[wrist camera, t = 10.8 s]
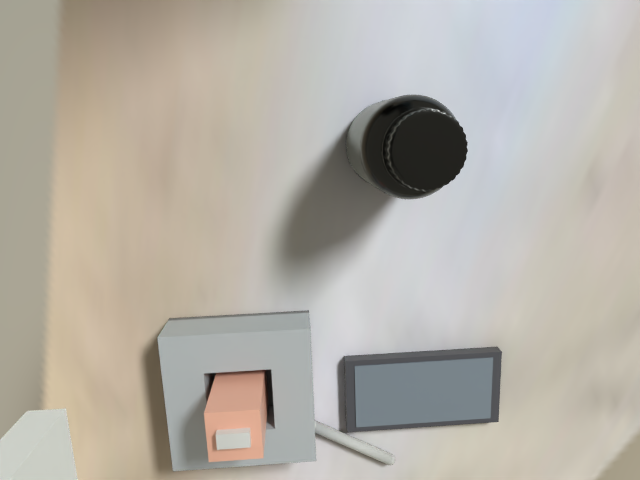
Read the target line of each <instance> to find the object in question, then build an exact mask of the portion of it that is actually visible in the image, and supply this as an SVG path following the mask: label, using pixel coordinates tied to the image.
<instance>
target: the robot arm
mask: <svg viewBox="0 0 640 480" xmlns="http://www.w3.org/2000/svg"><path fill="white" fill-rule="evenodd" d="M0 480H78V478H77V472H76V466H75V460H74V454H73V448H72V442H71V436H70V430H69V424H68V418H67V412H66V409H51V410H35V411H27V412H26V413H25V414H24V415H23V416H22V417H21V418H20V419H19V420H18V421H17V422H16V423H15V424H14V426H13V427H12V428H11V429H10V430H9V431H8V432H7V433H6V434H5V435H4V436H3V437H2V439H1V440H0Z"/></svg>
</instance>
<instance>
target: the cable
mask: <svg viewBox="0 0 640 480" xmlns="http://www.w3.org/2000/svg"><path fill="white" fill-rule="evenodd" d="M315 433H316V434H318V435H321V436H323V437H325V438H328V439H330V440H332V441H335V442H337V443H339V444H341V445H344V446H346V447H348V448H351V449H353V450H355V451H357V452H360V453H362V454H364V455H367V456H369V457H371V458H374V459H376V460H378V461H380V462H383V463H385V464H387V465H393V464H394V462H395V457H394V456H393V455H392V454H390V453H388V452H386V451H384V450H381V449H379V448H377V447H374V446H372V445H370V444H368V443H365V442H363V441H361V440H359V439H356V438H354V437H352V436H349V435H347V434H345V433H343V432H340V431H338V430H336V429H334V428H331V427H329V426H327V425H324V424H322V423H320V422H318V421H315Z"/></svg>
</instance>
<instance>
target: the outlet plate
mask: <svg viewBox="0 0 640 480" xmlns="http://www.w3.org/2000/svg"><path fill="white" fill-rule="evenodd" d="M157 339H158V348H159V356H160V365H161V374H162V382H163V391H164V399H165V408H166V416H167V425H168V433H169V442H170V450H171V459H172V467H173V471H184V470H198V469H212V468H226V467H240V466H254V465H268V464H282V463H296V462H310V461H316V443H315V420H314V397H313V374H312V351H311V329H310V319H309V311H294V312H276V313H258V314H240V315H223V316H205V317H187V318H169V320H168V322H167V323H166V325H165V326H164V328H163V329H162V331H161V333H160V334H159V336H158V337H157ZM253 370H266V375H267V390H268V409H267V422H266V434H265V446H264V458H261V459H247V460H233V461H219V462H209V459H208V449H207V439H206V429H205V419H204V411H205V408H206V405H207V401H208V398H209V395H210V392H211V388H212V385H213V382H214V378H215V375H216V373H220V372H237V371H253Z"/></svg>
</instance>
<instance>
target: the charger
mask: <svg viewBox="0 0 640 480" xmlns="http://www.w3.org/2000/svg"><path fill="white" fill-rule="evenodd" d="M267 409H268V390H267V375H266V370H253V371H237V372H220V373H216V375H215V378H214V382H213V385H212V388H211V392H210V395H209V398H208V401H207V405H206V408H205V411H204V419H205V429H206V439H207V449H208V459H209V462H219V461H233V460H247V459H261V458H264V446H265V434H266V422H267Z"/></svg>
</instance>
